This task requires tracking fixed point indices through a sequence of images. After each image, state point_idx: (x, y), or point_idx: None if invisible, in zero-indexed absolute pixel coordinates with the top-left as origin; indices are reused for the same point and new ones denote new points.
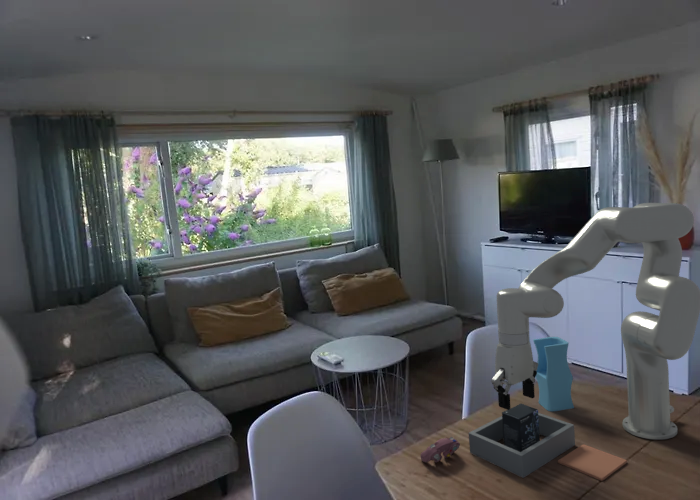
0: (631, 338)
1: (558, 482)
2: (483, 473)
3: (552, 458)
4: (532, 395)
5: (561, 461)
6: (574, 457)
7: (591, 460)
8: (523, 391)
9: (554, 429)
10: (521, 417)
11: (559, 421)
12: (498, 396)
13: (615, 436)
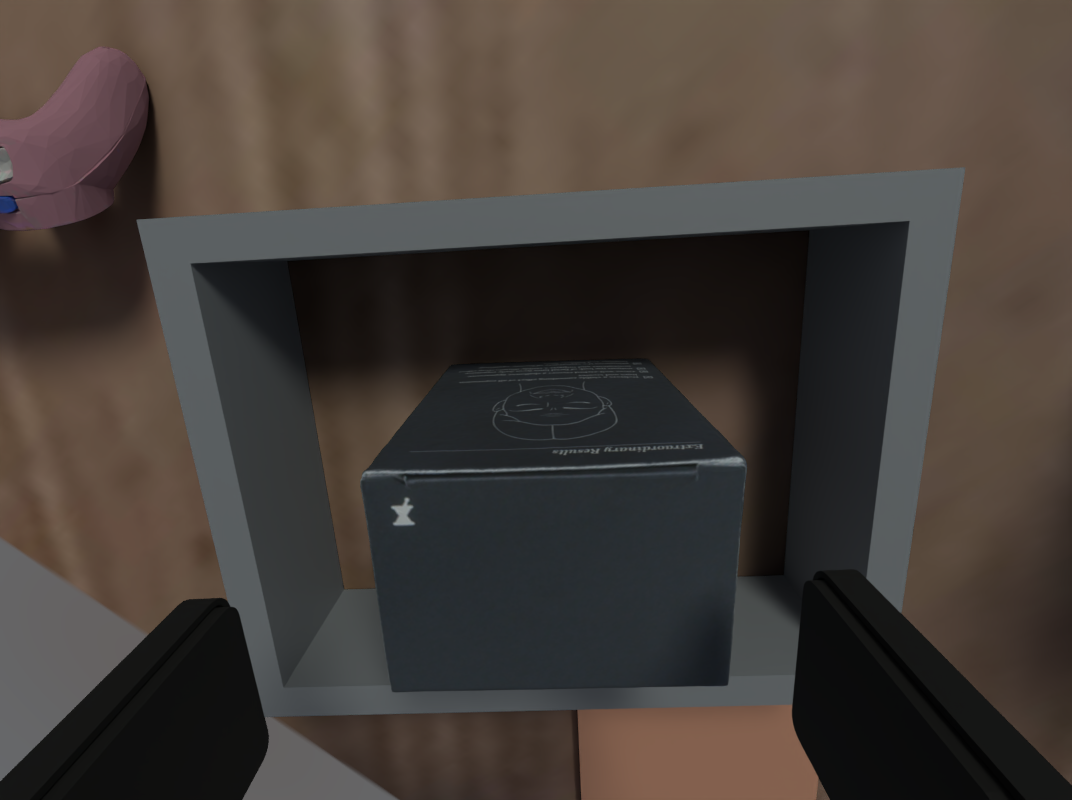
0: None
1: (428, 727)
2: (175, 456)
3: None
4: (814, 769)
5: None
6: None
7: (695, 746)
8: (842, 635)
9: (825, 530)
10: (437, 689)
11: None
12: (47, 742)
13: (1048, 682)
